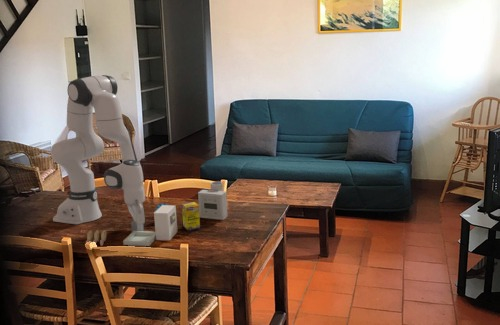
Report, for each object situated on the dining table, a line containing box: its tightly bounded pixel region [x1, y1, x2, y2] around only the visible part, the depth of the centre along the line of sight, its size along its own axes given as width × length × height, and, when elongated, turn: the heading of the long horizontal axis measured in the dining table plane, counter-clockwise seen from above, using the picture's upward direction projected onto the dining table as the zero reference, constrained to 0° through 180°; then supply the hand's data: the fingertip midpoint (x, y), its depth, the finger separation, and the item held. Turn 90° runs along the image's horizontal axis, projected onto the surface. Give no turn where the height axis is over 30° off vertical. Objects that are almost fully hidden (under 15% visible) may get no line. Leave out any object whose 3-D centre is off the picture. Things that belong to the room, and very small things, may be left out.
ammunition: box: [85, 229, 107, 247], centre depth 219 cm, size 5×7×8 cm
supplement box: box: [181, 201, 201, 232], centre depth 231 cm, size 6×6×11 cm
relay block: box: [130, 218, 145, 233], centre depth 230 cm, size 4×4×6 cm
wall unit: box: [153, 204, 178, 241], centre depth 223 cm, size 7×10×12 cm
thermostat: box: [197, 181, 228, 221], centre depth 247 cm, size 12×14×15 cm
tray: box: [122, 230, 157, 247], centre depth 220 cm, size 11×11×2 cm
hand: (137, 227), depth 230 cm, fingers closed on relay block, 5 cm apart
